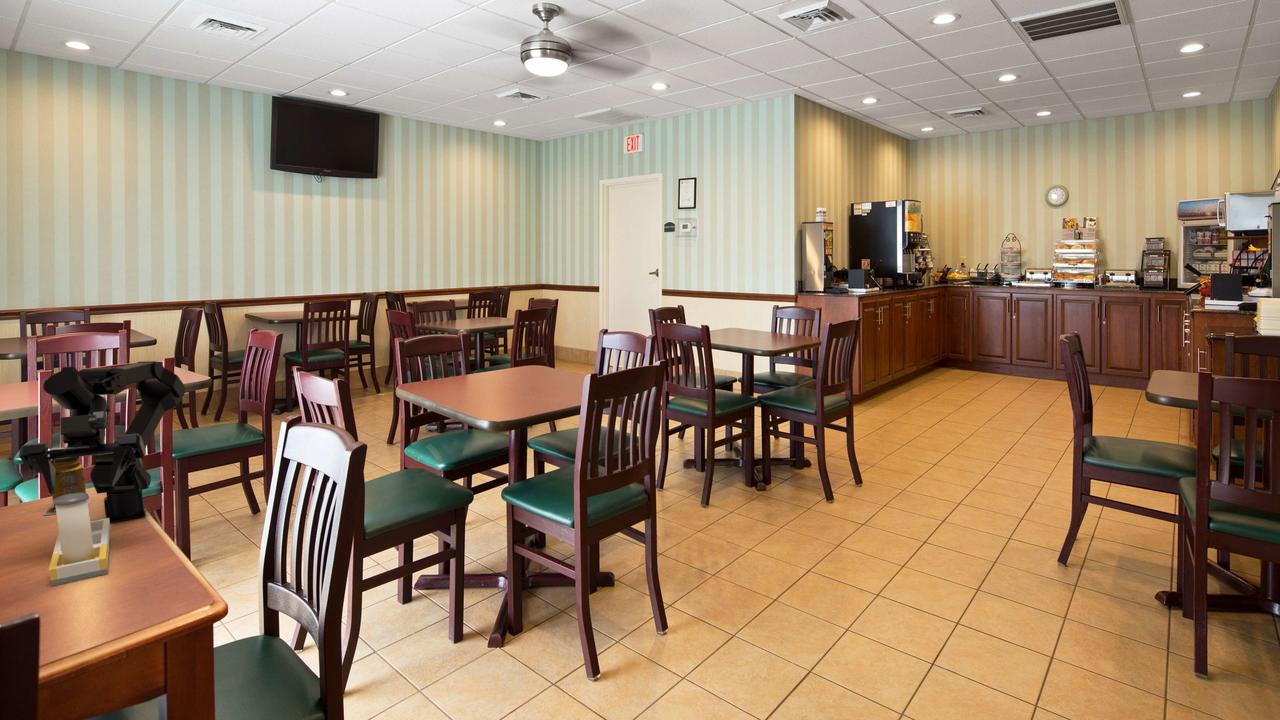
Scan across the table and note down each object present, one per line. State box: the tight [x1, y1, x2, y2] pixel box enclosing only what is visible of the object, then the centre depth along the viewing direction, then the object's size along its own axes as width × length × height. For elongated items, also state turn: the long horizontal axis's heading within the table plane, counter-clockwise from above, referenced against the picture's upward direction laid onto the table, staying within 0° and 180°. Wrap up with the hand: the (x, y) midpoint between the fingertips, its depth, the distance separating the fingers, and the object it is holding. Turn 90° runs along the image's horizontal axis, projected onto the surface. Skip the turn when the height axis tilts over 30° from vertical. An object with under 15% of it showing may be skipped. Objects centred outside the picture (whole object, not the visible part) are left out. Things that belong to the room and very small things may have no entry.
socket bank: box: [48, 517, 112, 587], centre depth 135 cm, size 8×24×3 cm, turn 35°
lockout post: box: [52, 492, 95, 565], centre depth 128 cm, size 5×5×13 cm
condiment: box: [42, 456, 94, 516], centre depth 161 cm, size 7×8×12 cm
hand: (81, 489), depth 134 cm, fingers open, 9 cm apart
